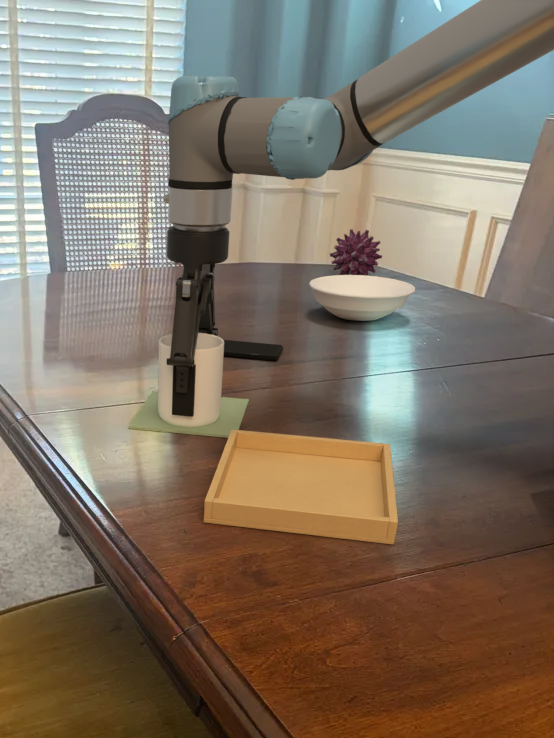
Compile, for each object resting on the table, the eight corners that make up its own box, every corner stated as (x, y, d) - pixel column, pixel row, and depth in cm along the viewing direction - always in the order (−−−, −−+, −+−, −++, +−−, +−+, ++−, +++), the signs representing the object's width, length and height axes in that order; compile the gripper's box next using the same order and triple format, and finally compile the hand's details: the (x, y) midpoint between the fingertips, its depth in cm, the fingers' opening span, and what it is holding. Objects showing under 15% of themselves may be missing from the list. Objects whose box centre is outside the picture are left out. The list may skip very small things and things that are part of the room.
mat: (248, 401, 109) (249, 399, 109) (235, 438, 97) (236, 435, 97) (152, 393, 111) (152, 391, 111) (128, 428, 100) (128, 425, 99)
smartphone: (277, 356, 125) (188, 348, 129) (277, 361, 125) (187, 353, 129) (284, 344, 130) (198, 337, 134) (283, 349, 131) (198, 341, 135)
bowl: (346, 336, 139) (351, 300, 136) (286, 311, 155) (289, 279, 152) (431, 325, 146) (438, 290, 143) (366, 303, 162) (370, 271, 159)
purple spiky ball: (354, 294, 177) (313, 275, 183) (383, 284, 183) (343, 266, 189) (369, 243, 169) (326, 225, 175) (399, 235, 176) (357, 218, 182)
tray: (386, 463, 91) (390, 443, 89) (393, 544, 74) (398, 522, 73) (230, 448, 94) (231, 429, 93) (203, 522, 78) (204, 500, 76)
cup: (151, 424, 100) (152, 347, 95) (170, 394, 110) (171, 323, 105) (215, 430, 98) (219, 351, 93) (227, 399, 108) (232, 327, 103)
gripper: (186, 212, 103) (181, 369, 114) (144, 240, 83) (143, 428, 94) (242, 214, 102) (231, 373, 113) (213, 243, 81) (204, 434, 92)
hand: (191, 398), depth 103 cm, fingers closed on cup, 12 cm apart
